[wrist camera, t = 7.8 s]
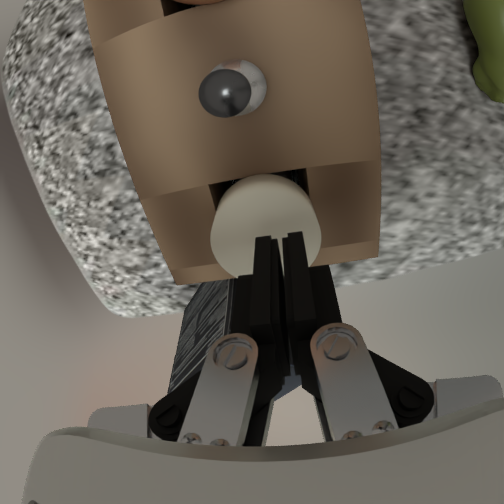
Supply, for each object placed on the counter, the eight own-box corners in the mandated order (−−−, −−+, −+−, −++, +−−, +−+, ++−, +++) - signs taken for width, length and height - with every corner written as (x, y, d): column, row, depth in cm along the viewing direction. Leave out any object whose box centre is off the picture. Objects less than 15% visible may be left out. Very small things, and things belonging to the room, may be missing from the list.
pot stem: (259, 55, 10) (260, 43, 6) (271, 107, 11) (277, 126, 7) (203, 67, 10) (171, 65, 6) (215, 118, 11) (192, 143, 7)
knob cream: (294, 139, 17) (316, 183, 11) (304, 206, 19) (323, 276, 13) (219, 152, 17) (196, 203, 11) (236, 216, 20) (225, 290, 14)
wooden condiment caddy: (307, -56, 9) (325, -96, 4) (351, 208, 20) (377, 256, 15) (125, -15, 10) (78, -36, 6) (194, 232, 22) (176, 285, 17)
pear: (535, -1, 3) (540, 117, 10) (490, -9, 7) (499, 93, 14) (490, -24, 4) (501, 115, 11) (442, -24, 8) (457, 90, 15)
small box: (241, 333, 29) (235, 427, 20) (183, 309, 27) (160, 406, 18) (304, 266, 23) (323, 378, 15) (235, 229, 22) (221, 345, 13)
